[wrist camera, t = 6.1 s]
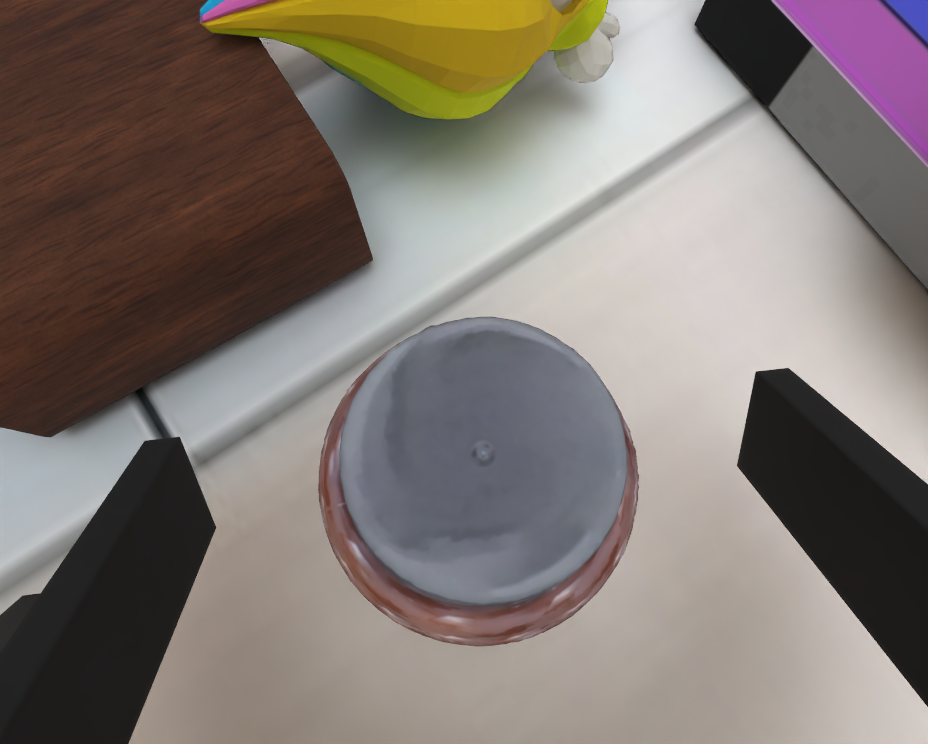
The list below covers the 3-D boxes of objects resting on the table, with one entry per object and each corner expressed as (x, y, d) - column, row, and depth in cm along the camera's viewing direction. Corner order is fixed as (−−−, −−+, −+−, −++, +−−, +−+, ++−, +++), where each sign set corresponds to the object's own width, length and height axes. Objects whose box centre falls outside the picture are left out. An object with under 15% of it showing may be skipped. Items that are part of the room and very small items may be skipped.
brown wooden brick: (376, 269, 20) (344, 169, 15) (65, 441, 19) (-108, 404, 13) (119, -138, 26) (22, -327, 20) (-143, -32, 24) (-329, -206, 18)
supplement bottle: (595, 547, 18) (796, 577, 7) (423, 630, 18) (358, 799, 7) (515, 381, 20) (581, 198, 9) (353, 452, 19) (204, 348, 8)
